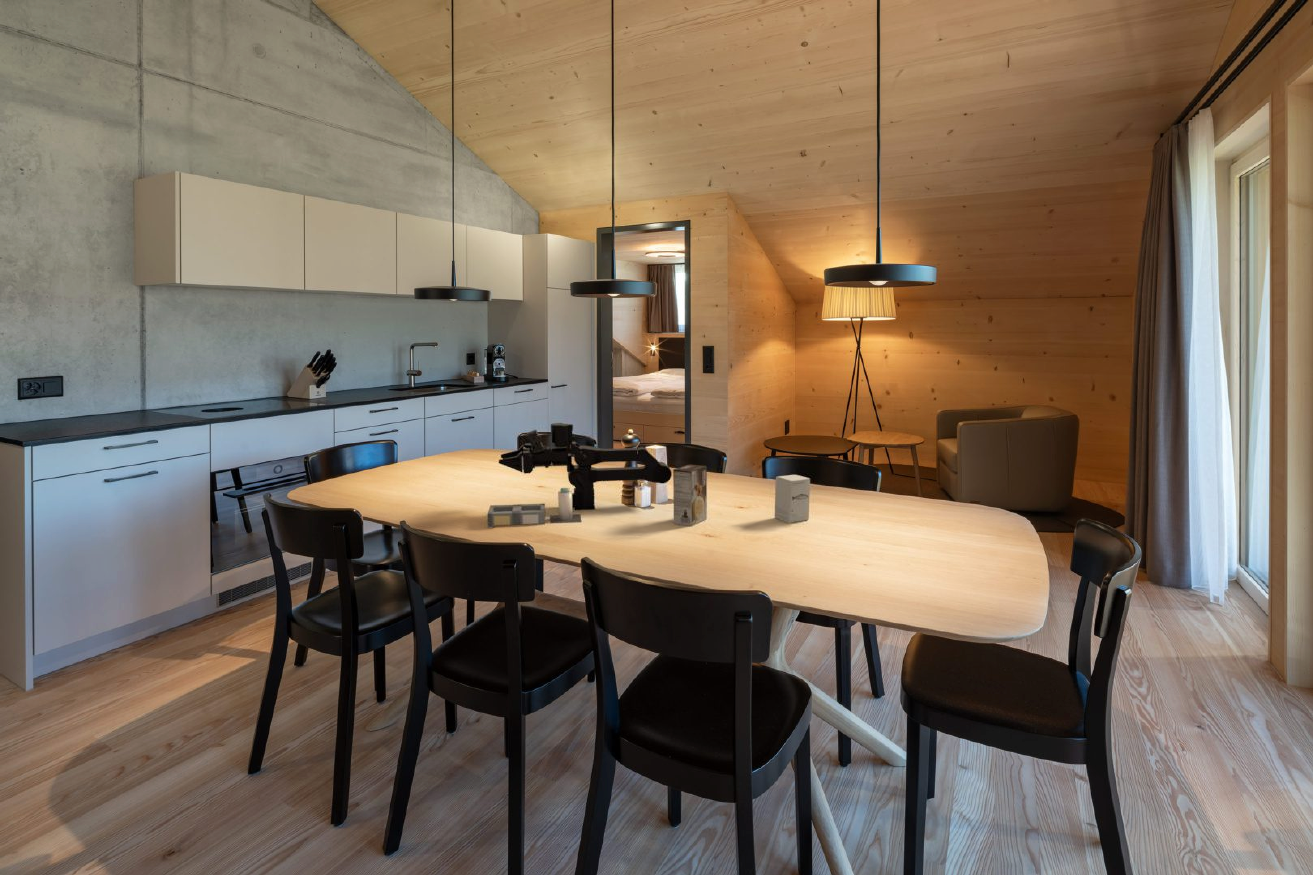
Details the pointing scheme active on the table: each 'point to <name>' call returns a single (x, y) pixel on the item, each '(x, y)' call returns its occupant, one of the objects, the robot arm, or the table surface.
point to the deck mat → (556, 520)
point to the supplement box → (792, 498)
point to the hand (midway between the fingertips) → (499, 458)
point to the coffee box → (690, 494)
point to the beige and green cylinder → (565, 504)
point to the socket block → (516, 515)
